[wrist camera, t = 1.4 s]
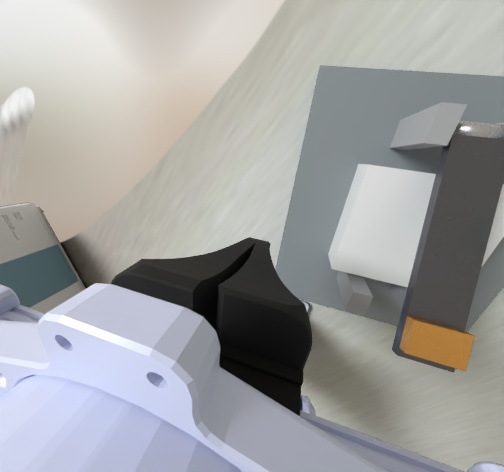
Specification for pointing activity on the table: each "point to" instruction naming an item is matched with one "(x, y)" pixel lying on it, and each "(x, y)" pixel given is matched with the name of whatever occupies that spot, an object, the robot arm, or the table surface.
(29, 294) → the stereo radio cassette player
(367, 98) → the board
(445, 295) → the clamp bar
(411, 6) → the table surface
